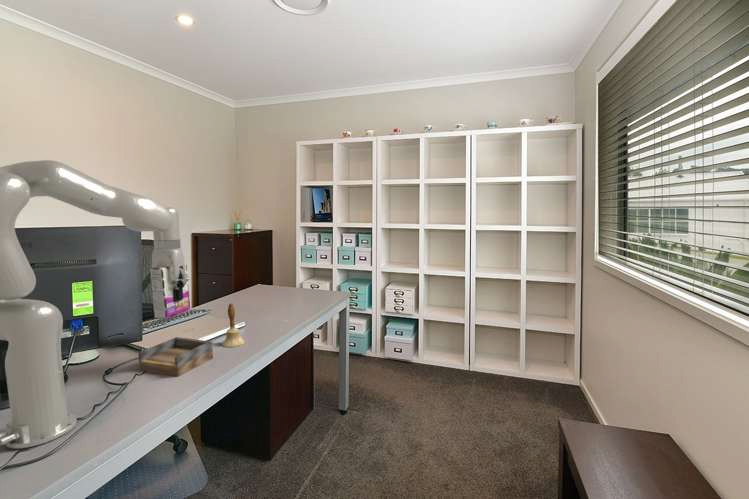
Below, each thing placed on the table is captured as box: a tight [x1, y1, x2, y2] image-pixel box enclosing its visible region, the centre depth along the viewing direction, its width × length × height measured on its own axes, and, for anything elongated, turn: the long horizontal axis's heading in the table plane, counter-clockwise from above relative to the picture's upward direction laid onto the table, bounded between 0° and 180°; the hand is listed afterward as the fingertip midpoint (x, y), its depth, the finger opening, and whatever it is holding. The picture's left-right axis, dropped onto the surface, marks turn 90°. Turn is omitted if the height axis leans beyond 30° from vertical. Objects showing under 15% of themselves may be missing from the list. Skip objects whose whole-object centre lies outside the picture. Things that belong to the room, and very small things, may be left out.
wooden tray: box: [138, 336, 214, 377], centre depth 124 cm, size 15×16×6 cm
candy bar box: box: [149, 262, 191, 320], centre depth 121 cm, size 11×5×16 cm, turn 168°
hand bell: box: [221, 303, 246, 348], centre depth 142 cm, size 8×8×16 cm
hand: (171, 299), depth 121 cm, fingers closed on candy bar box, 5 cm apart
